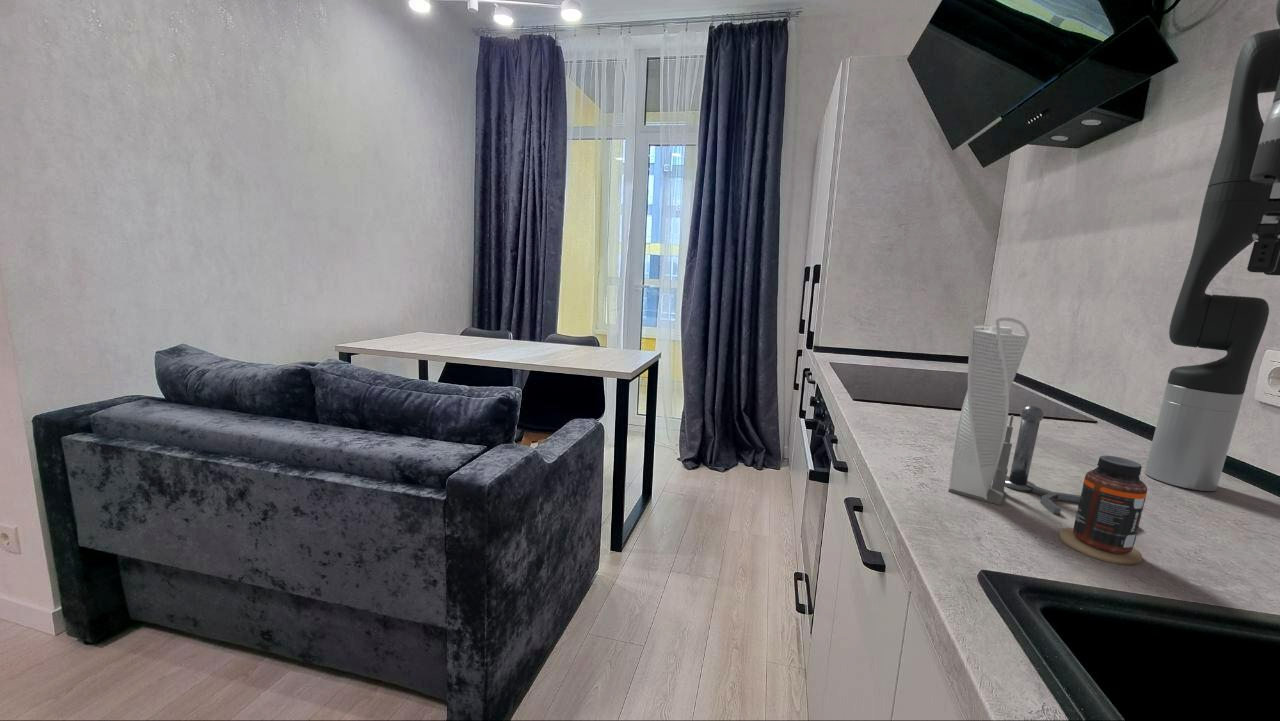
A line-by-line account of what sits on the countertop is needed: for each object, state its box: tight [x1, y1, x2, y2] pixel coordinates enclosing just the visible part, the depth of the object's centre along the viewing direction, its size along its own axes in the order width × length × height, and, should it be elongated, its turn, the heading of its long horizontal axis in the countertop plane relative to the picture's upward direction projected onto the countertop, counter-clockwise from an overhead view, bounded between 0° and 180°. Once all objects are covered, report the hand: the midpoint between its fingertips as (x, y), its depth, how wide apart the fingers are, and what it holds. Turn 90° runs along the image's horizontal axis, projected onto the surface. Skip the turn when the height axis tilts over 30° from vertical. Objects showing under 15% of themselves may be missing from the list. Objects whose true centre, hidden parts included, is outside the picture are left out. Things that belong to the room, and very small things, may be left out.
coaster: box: [1059, 527, 1143, 566], centre depth 68 cm, size 8×8×1 cm
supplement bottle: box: [1073, 455, 1148, 554], centre depth 67 cm, size 6×6×11 cm
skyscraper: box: [948, 317, 1031, 506], centre depth 81 cm, size 8×8×28 cm
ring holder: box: [1004, 404, 1081, 516], centre depth 80 cm, size 10×18×14 cm, turn 31°
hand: (1268, 273), depth 66 cm, fingers open, 8 cm apart
